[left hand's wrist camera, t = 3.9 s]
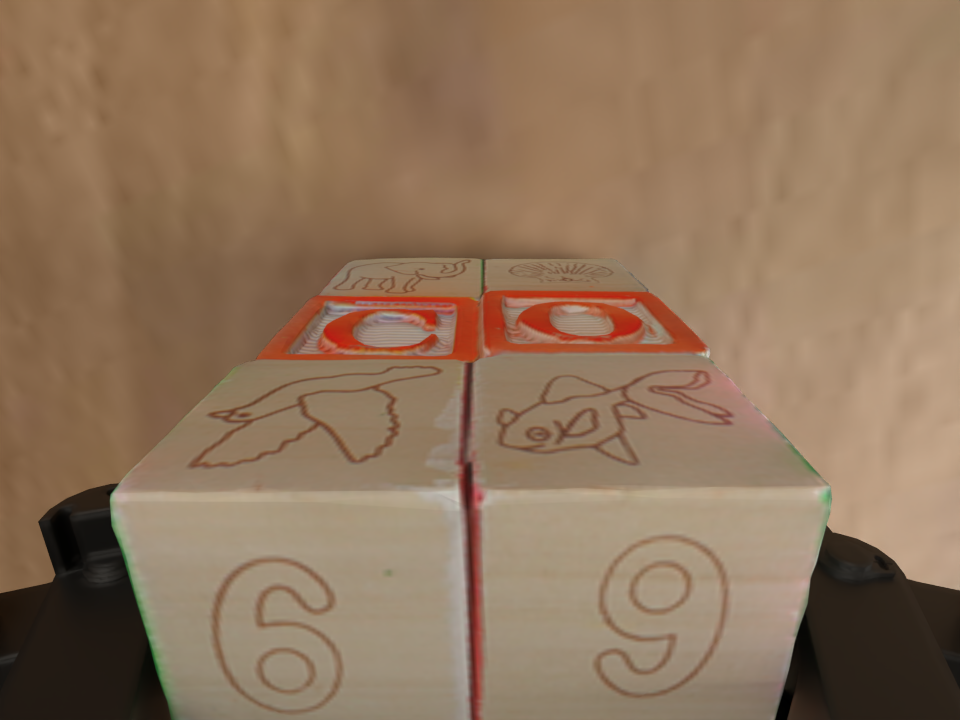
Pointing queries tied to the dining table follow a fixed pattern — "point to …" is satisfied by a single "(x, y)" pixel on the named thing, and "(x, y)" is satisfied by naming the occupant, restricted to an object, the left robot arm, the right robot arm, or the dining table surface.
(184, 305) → the dining table surface
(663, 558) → the stack of blocks
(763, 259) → the dining table surface
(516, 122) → the dining table surface
